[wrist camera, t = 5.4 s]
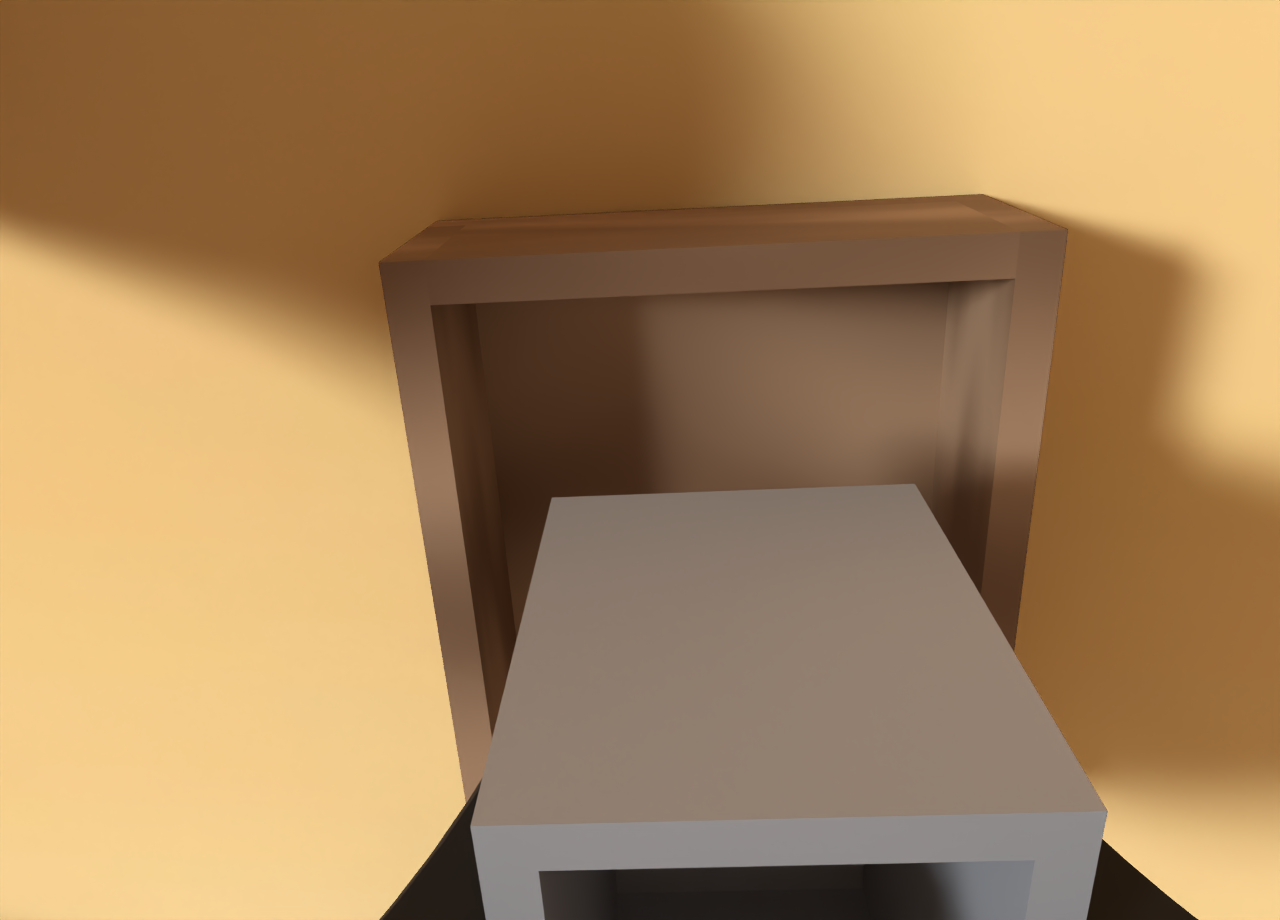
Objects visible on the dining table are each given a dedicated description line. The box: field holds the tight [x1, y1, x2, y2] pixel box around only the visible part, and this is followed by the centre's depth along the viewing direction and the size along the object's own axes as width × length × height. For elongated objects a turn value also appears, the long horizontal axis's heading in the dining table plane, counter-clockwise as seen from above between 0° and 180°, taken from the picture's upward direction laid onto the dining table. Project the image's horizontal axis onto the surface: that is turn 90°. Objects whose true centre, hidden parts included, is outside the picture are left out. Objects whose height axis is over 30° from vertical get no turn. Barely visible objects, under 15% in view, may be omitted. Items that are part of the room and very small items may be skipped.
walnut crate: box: [379, 194, 1068, 803], centre depth 18 cm, size 13×10×4 cm
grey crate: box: [470, 484, 1107, 920], centre depth 12 cm, size 8×5×6 cm, turn 3°
